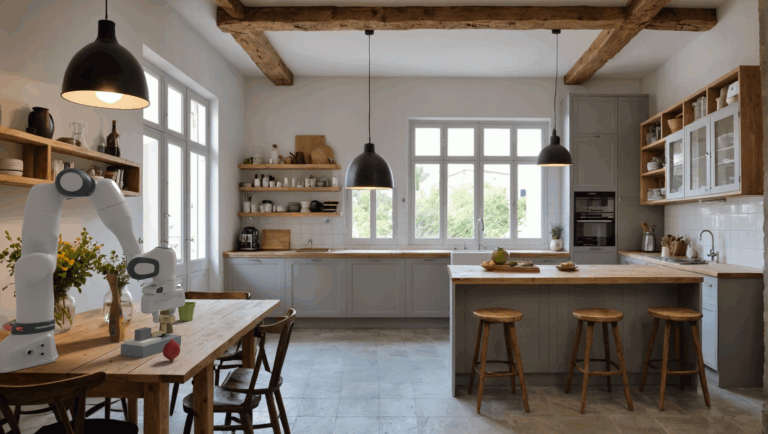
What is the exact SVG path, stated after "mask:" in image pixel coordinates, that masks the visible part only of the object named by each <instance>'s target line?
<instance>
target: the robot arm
mask: <svg viewBox="0 0 768 434" xmlns="http://www.w3.org/2000/svg"><path fill="white" fill-rule="evenodd" d="M81 198H86V199H88V200H89V201H90V203H92V205H93V207H94V209H95V211H96V214H97V216H98V217H99V219H100V220H101V223H102V224H103V225H104V227H106V228H107V229H108V230H109V231H110V232H111V233H112V234H113V235H114V236H115V237H116V239H117V241H118V242H119V245H120V247H121V249H122V251H123V253H124V255H125V259H126V261H125V269H126V272H127V275H128V276H129V277H130V278H131V279H133V280H137V281H143V280H146V279H152V282H150V283H149V284H147V285H146V286H143V287H142V288H141V293H142V296H141V298H140V300H141V301H140V312H141V313H142V314H151V316H152V319H153V318H154V323H155V324H160V320H161V318H159V317H158V315H160V311H164V310H168V309H169V310H170V313H169V315H167V316H175V313H176V311H177V309H178V307H181V306H184V305H185V302H186V295H185V290H184V288H185V287H184V286H183V285H182V284H179V283H178V284H177V274H176V272H177V267H178V266H177V265H178V264H177V260H178V259H177V254H176V251H175V250H174V249H172V248H170V247H167V246H166V247H165V246H155V247H154V248H153V249H151V250H149V251H147V252H144V250H143V249H142V247H141V245H140V243H139V241H138V239H137V237H136V234H135V232H134V228H133V226H134V225H133V215H132V210H131V208H130V205H129V203H128V201H127V199H126V197H125V195H124V193H123V192H122V189H121V188H120V187H119V185H118V184H117V183H116V181H115V180H113V179H111V178H98V179H95V178H93V177H92V176H91V175H89V174H88V173H86V172H85V171H84V170H82V169H80V168H75V167H67V168H64V169H62V170H61V171H59V172H58V173H57V174H56V176H55V178H54V182H51V183H45V182H43V183H38V184H37V183H36V184H34V185H33V186H32V187H30V189H29V193H28V195H27V199H26V201H25V206H24V211H23V219H22V220H23V221H22V226H21V227H22V228H21V235H20V236H21V251H20V252H21V253H20V257H19V258H18V259H17V260H16V262H15V263H14V268H13V271H14V272H13V275H14V276H13V277H14V290H15V299H16V300H15V302H16V303H15V304H16V305H15V306H16V307H15V309H16V310H15V322H14V324H13V325H12V324H5V325H3V329H4V331H8V332H10V333H9V334H8V335H7V336H6V337H5V338H3V339H2V340H1V341H0V374H4V373H10V372H11V373H12V372H15V371H20V370H25V369H28V368H33V367H37V366H42V365H46V364H52V363H54V362H56V360H57V359H58V357H59V353H58V351H57V347H56V340H55V330H56V318H55V314H54V312H55V293H54V272H55V271H56V269H57V261H58V250H59V237H60V227H61V219H62V213H63V212H62V211H63V205H64V203H65V201H68V200H75V199H81Z"/></svg>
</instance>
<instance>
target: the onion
mask: <svg viewBox="0 0 768 434" xmlns="http://www.w3.org/2000/svg"><path fill="white" fill-rule="evenodd" d="M180 353H181V346H179V344H178V343H176V342H175V341H174V339H171V340H170V341H169V342H168V343H167V344H166V345H165V346H164V348H163V352H162V355H163V357H164V358H165V359H166V360H169V361H171V362H172V361H174V360H175V359H176V358H177V357H178V356H179V355H180Z"/></svg>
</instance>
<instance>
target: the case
mask: <svg viewBox="0 0 768 434" xmlns="http://www.w3.org/2000/svg"><path fill="white" fill-rule="evenodd" d="M153 337H160V338H161V341H159V342H155V343H152V344H149V345H145V346H135V345H127V344H124V342H123V343H120V355H121V356H128V357H134V358H142V359H144V358H146V357H147V358H148V357H150V356H153V355H156V354H159V353H161V352H162V353H163V348H164V346H165V345H166V344H167V343H168V342H169V341H170V340H171V339H174V341H175V342H176V343H178V344H179V346H180V347H181V346H182V335H179V334H172V333H171V334H166V335H161V334H160V335H156V336H153Z"/></svg>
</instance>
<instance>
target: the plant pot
mask: <svg viewBox="0 0 768 434" xmlns="http://www.w3.org/2000/svg"><path fill="white" fill-rule="evenodd" d="M196 304H197V302H195V301H185V305H184V306H181V307H177V310H178V317H179V321H180V322H191V321H193V319H194V312H195V307H196Z"/></svg>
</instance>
